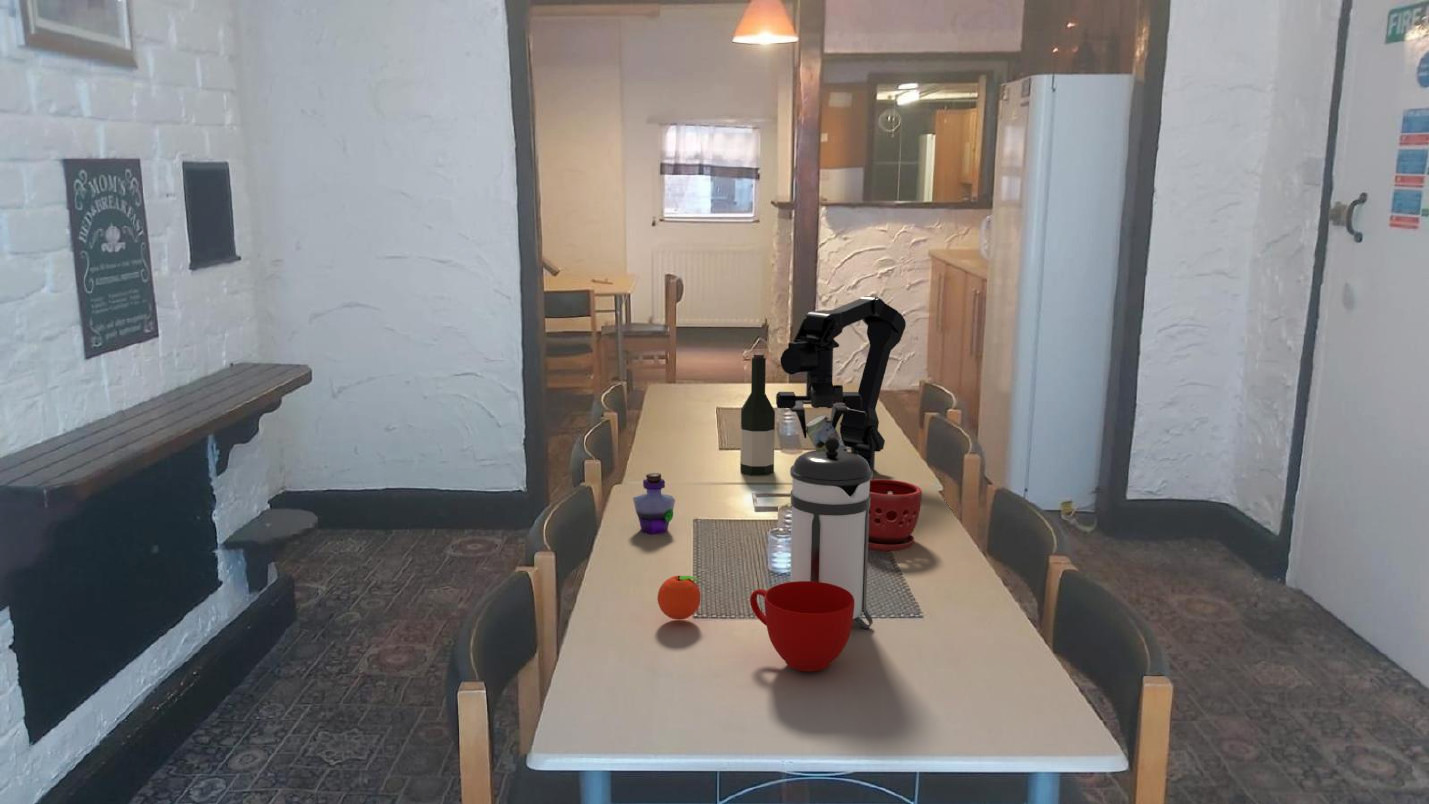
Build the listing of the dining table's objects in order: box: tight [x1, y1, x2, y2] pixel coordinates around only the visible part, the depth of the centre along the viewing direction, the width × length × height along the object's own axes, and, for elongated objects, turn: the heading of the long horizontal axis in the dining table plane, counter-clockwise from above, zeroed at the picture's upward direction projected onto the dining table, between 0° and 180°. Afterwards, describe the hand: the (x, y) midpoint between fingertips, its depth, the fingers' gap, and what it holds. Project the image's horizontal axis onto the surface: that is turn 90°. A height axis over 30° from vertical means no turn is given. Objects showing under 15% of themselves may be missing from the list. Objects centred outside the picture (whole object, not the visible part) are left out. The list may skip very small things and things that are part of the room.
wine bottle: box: [739, 352, 776, 477], centre depth 253 cm, size 8×8×30 cm
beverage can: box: [806, 414, 848, 451], centre depth 242 cm, size 6×7×12 cm
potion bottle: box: [632, 472, 676, 535], centre depth 215 cm, size 9×9×12 cm
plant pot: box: [868, 478, 923, 552], centre depth 209 cm, size 13×13×12 cm
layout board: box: [751, 492, 893, 512], centre depth 233 cm, size 12×33×2 cm, turn 91°
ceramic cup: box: [749, 581, 854, 672], centre depth 158 cm, size 13×17×10 cm
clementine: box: [657, 575, 706, 620], centre depth 173 cm, size 8×7×7 cm
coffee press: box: [789, 437, 874, 630], centre depth 172 cm, size 17×16×30 cm
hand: (817, 437), depth 242 cm, fingers closed on beverage can, 5 cm apart
